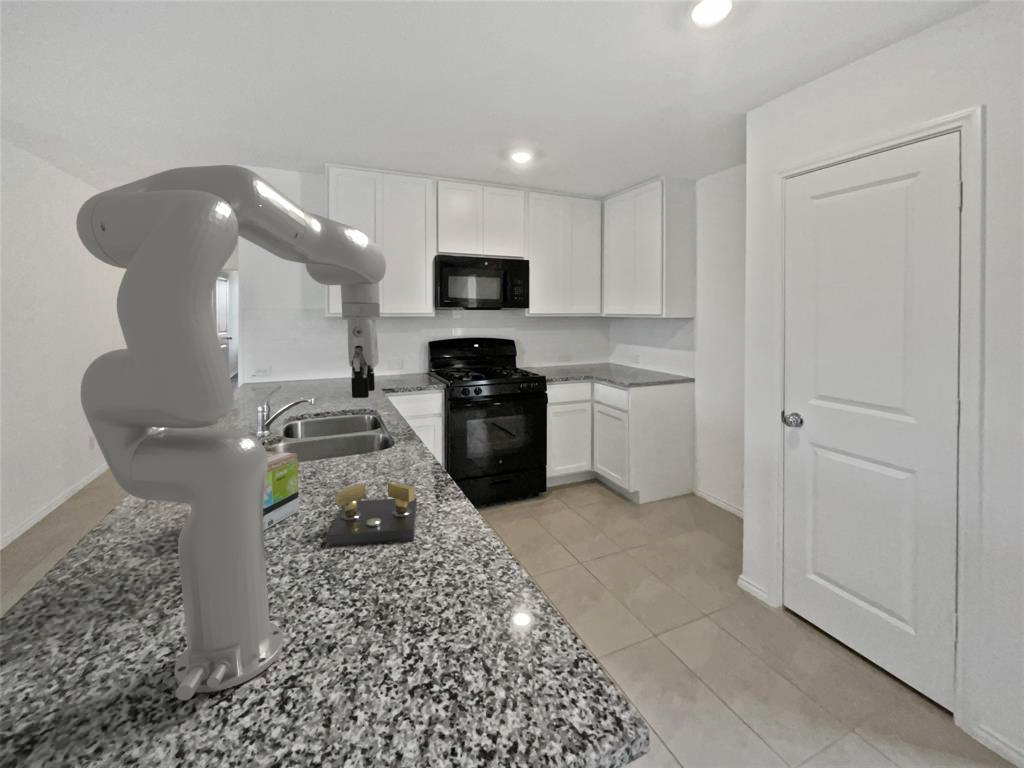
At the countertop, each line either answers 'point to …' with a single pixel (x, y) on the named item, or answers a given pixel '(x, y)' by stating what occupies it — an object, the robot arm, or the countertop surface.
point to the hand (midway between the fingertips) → (364, 394)
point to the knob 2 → (401, 495)
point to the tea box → (280, 488)
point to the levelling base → (374, 524)
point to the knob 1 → (350, 498)
